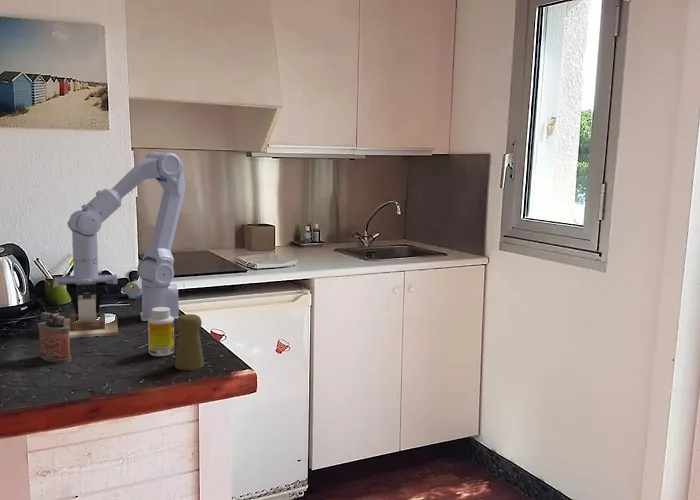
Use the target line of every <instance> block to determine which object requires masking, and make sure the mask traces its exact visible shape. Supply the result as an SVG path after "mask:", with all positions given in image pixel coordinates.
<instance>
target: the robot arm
mask: <svg viewBox="0 0 700 500" xmlns="http://www.w3.org/2000/svg"><path fill="white" fill-rule="evenodd" d="M184 166H185V165H184V163H183V162H182V160H181V159H180V157H179V156H178V155H177V154H175V153H173V152H159V151H151V152H149V153H147V154H146V155H145V156H144V157H142V158H140V159H139V160H138V162H137V163H136V164H135V165H134V166H133V167H132V168H131V170H129V171H128V172H127V173H126V174H125V175H124V176H123V177H122V178H121V179H120V180H119V181H118V182H117V183H116V184H115V185H114V186H113V187H112V188H111V189H110V188H103V189H102V190H98V191H96V192H95V196H94V197H93V198H92V199H91V200H90V201H89V202H87V203H86V204H85V203H84V204H83V205H81V210H80V209H79V210H76V211H74V212H73V213H71V215H70V217H69V219H68V221H67V226H68V228H69V231H71V233H72V242H71V243H72V265H73V275H65V276H56V277H54V279H53V284H54V286H53V287H60V286H61V287H63V286H65V290H66V292H67V294H68V296H69V297H70V299H71V302H72V304H73V307H74V311H75V314H78V297H79V290H78V289H79V286H81V285H95V295H96V313H99V312H100V306H101V302H102V299H103V297H104V294H105V291H106V289H107V284H112V285H117V284H118V274H99V255H98V253H99V252H98V251H99V250H98V232H99V231H100V230H101V227H102V224H103V223H104V222H105V221H106V220H107V219H108V218H109V217H110V216H111V215H112V214H114V213H115V212H116V211H117V210H118V209H119V208H121V205H122V199H123V198H124V197H125V196H126V195H128V194H129V193H130V192H131V191H132V190H134V189H135V188H136V187H138V186H139V185H140V184H141V183H143V182H144V181H145V180H149V179H155V180H156V181H157V182H158V183H159V185H160V187H161V188H162V189H163V193H162V197H161V199H160V205H159V209H158V213H157V217H156V222H155V226H154V228H153V229H154V230H153V234H152V237H151V243H150V247H149V248H148V249H147V250H146V251H145V252H144V253H143V254H144V255H143V257H142V259H141V260H140V262H139V263H138V264H137V268H136V269H137V275H138V277H139V278H140V279H141V282H142V294H141V306H142V307H141V309H142V311H141V312H140V313H139V314H140V320H141V321H142V322H148V319H149V318H150V317H152V309H153V308H156V307H168V308H170V316H172V317H173V318H174V320H177V319H178V317H179V311H180V305H179V289H178V284H177V283H171V282H172V280H174V277H175V270H174V269H175V268H174V263H175V258H174V256H173V254H172V251H171V250H172V248H173V242H174V240H175V235H176V234H175V233H176V230H177V226H178V223H179V222H178V221H179V217H180V213H181V210H182V205H183V203H184V202H183V201H184V197H185V193H186V180H185V176H184V172H183V171H184ZM78 285H79V286H78Z"/></svg>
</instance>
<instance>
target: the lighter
mask: <svg viewBox="0 0 700 500" xmlns="http://www.w3.org/2000/svg"><path fill="white" fill-rule="evenodd" d="M40 319H41V320H45V321H43V322H38V323H37V328H38V333H39V334H38V335H39V351H40V352H39V353H38V355H39V356H38V357H39V359H42V360H43V361H44V360H45V361H48V362H53V363H59V364H65V363H69V362H71V361H72V355H71V344H70V343H71V342H70V339H71V338H70V337H69V331H70V326H68V325H65V324H64V319H65V316H63V315H60V313H58V312H55V313H51V312H46V311H45V312H41V313H40Z"/></svg>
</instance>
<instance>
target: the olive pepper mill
mask: <svg viewBox="0 0 700 500" xmlns="http://www.w3.org/2000/svg"><path fill="white" fill-rule="evenodd" d="M175 322H176V323H175V325H176V326H175V327H176V329H177V330H178V338H177V345H176V352H175V353H176V354H175V361H174V362H175V363H174V368H175V369H177V370H180V371H194V370H195V371H196V370H199V369H203V367H204V366H205V362H204V355H203V349H202V342H201V336H200V335H201V334H200V329H201V328H202V319H201V317H200V316H199V315H197V314H192V313H187V314H182V315H180V316H178V319H176V321H175Z"/></svg>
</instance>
